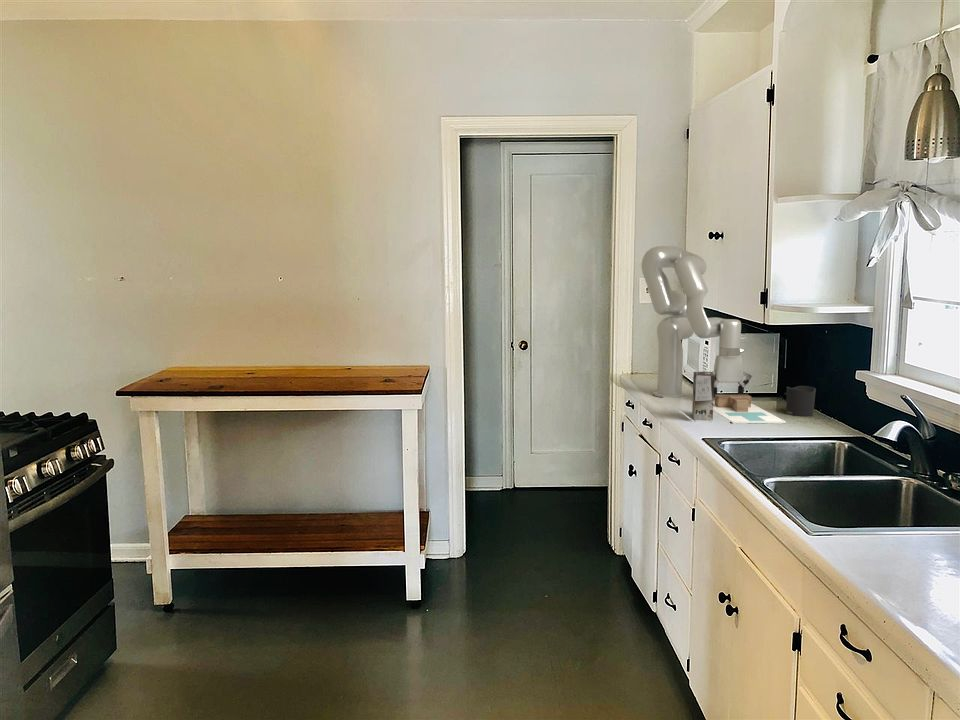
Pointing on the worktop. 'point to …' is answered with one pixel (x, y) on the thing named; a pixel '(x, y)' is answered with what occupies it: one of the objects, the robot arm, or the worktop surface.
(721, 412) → the board
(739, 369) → the robot arm
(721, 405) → the t block
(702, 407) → the coffee box
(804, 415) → the pen holder
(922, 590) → the worktop surface
